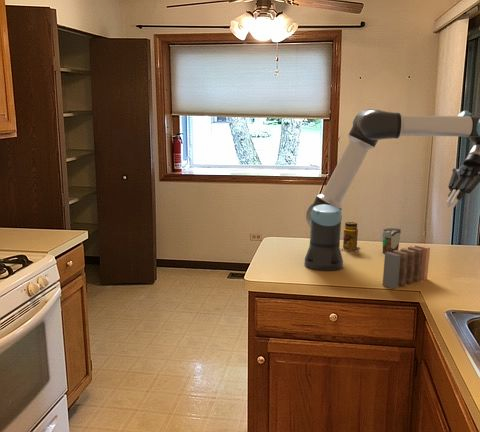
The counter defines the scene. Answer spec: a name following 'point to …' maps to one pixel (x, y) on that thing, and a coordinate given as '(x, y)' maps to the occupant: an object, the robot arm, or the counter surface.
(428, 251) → the domino
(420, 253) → the domino
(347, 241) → the condiment
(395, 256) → the domino
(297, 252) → the counter surface
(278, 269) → the counter surface
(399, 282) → the domino
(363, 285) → the counter surface
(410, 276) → the domino
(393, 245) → the food container
